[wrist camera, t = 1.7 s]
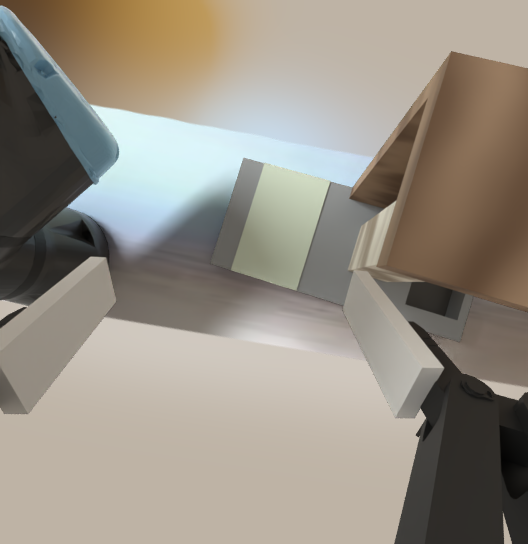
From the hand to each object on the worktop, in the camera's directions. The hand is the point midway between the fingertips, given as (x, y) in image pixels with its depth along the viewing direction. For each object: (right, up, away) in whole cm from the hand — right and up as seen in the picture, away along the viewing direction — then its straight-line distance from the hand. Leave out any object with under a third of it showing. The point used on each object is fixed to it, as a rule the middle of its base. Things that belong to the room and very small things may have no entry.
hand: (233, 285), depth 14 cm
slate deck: (+13, +4, +22) cm, 26 cm away
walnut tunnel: (+16, +5, +19) cm, 25 cm away
